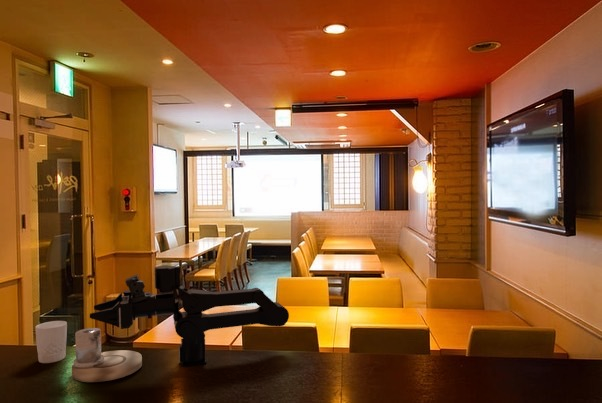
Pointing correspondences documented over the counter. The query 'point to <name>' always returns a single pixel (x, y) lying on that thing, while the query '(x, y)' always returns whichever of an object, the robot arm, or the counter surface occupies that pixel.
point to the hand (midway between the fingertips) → (91, 311)
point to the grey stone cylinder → (88, 348)
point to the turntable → (110, 367)
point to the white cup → (51, 341)
